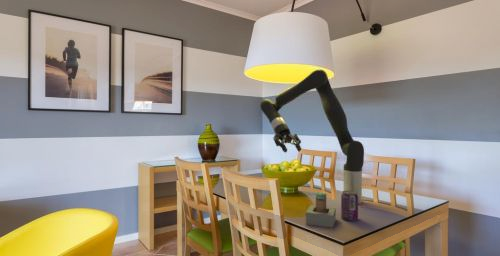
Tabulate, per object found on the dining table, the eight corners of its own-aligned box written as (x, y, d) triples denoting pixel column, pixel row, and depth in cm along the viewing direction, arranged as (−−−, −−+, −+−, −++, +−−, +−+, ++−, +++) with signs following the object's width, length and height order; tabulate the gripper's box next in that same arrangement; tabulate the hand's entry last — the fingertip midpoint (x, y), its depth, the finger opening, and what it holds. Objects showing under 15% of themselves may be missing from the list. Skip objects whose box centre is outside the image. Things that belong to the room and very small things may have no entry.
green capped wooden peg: (316, 219, 125) (316, 192, 124) (327, 220, 123) (327, 193, 123) (314, 222, 121) (314, 194, 120) (325, 223, 119) (325, 195, 118)
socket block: (310, 215, 129) (310, 205, 129) (335, 219, 125) (335, 207, 124) (305, 224, 119) (305, 212, 119) (332, 227, 114) (332, 215, 114)
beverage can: (360, 218, 125) (360, 191, 125) (354, 222, 120) (354, 195, 120) (345, 215, 130) (345, 189, 130) (338, 219, 125) (338, 192, 124)
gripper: (271, 122, 144) (284, 146, 134) (294, 122, 151) (307, 145, 141) (266, 132, 149) (278, 156, 139) (288, 132, 156) (301, 154, 146)
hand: (293, 151), depth 140 cm, fingers open, 8 cm apart
